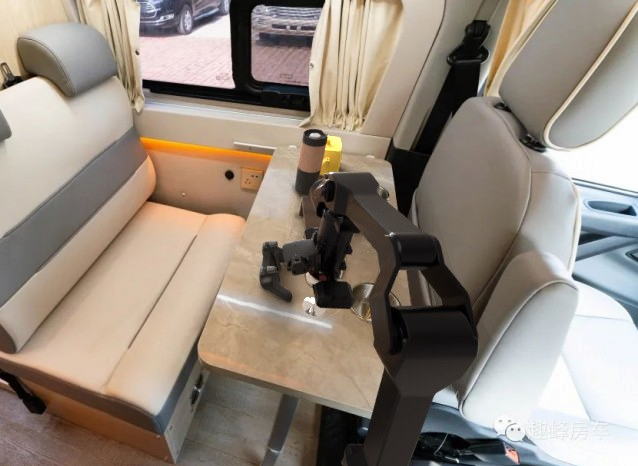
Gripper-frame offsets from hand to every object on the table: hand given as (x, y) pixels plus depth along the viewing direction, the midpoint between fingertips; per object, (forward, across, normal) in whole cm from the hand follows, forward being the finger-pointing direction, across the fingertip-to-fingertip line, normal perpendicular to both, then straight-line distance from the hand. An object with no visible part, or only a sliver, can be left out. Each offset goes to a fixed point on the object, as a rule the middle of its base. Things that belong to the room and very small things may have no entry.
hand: (317, 292), depth 68 cm
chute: (+10, -26, +6) cm, 29 cm away
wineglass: (+5, 0, 0) cm, 5 cm away
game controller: (+10, -12, -7) cm, 17 cm away
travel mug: (+10, -53, +6) cm, 54 cm away
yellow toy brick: (+10, -67, +14) cm, 69 cm away
